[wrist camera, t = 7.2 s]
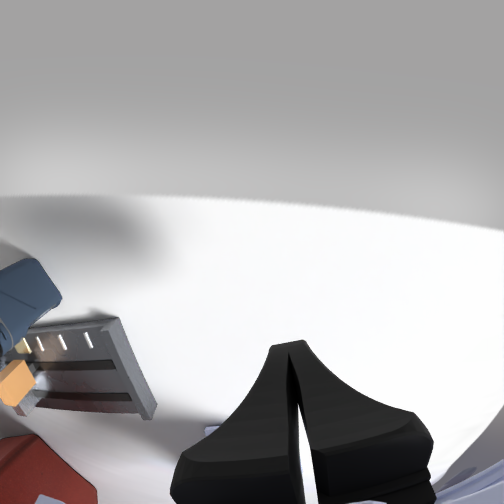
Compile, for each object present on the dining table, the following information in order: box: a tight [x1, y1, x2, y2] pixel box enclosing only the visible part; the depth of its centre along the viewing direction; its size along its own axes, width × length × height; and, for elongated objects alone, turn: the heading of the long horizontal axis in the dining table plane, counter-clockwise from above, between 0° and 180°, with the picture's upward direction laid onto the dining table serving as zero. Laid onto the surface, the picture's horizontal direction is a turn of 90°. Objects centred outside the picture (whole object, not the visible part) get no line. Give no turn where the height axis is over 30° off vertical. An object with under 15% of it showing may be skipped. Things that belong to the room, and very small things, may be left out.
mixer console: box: [0, 318, 157, 420], centre depth 22 cm, size 9×18×4 cm, turn 102°
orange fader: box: [0, 360, 36, 407], centre depth 21 cm, size 3×2×5 cm
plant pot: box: [0, 434, 98, 504], centre depth 22 cm, size 19×19×17 cm
